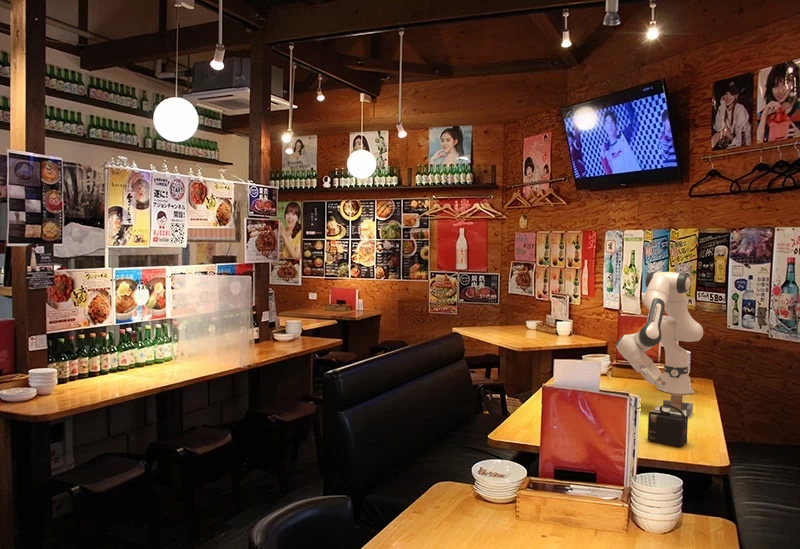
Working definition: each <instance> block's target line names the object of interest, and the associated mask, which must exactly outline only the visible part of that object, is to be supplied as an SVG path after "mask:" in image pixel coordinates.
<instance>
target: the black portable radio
mask: <svg viewBox="0 0 800 549" xmlns="http://www.w3.org/2000/svg"><path fill="white" fill-rule="evenodd" d="M659 406H660V410H655V408H654V409H653V410H651V411H649V412H648V418H647V420H648V421H647V441H648V442H652V443H658V444H662V445H668V446H673V447H678V448H682V447H683V446H684V445H686V444H687V443H688V424H689V423H688V421H689V419H688V416H685V415H684V413H683V412H682V411H681V410H679V409H678V408H676V407H674V406H672V405H667V404H664V405H663V404H661V405H659ZM663 406H668V407H671V408H674V409H675V410H677V411H678V412H679V413H680V414H681V415H679V414H673V413H670V412H665V411H663V410H662V407H663Z"/></svg>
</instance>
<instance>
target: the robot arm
mask: <svg viewBox="0 0 800 549" xmlns="http://www.w3.org/2000/svg"><path fill="white" fill-rule="evenodd" d="M644 281H645V283H644V284H645V287H646V291H645V294H644V299H643V305H644V307H645V308H646V309H647V310H648V314H647V315H648V316H647V320H646V323H645V324H644V326H642V328H640V330H639V331H637V332H635V333H630V334H622V335H621V336H620V338H619V339H618V340H617V341H616V343H615V347H616V349H617V351H618V353H620V355H621V356H622V357H623V358H624V359H625V360H627V361H628V362H629V364H630V366H631V367H632V368H633V369H634V370H635V371H636V372H637V373H640V375H641V376H642V378H644V380H646V382H647V383H649V385H654V386H656V390H659V391H662V392H664V393H667V394H668V393H669V394H672V393H679V394H683V395H688V394H691V395H692V394H693V395H694V394H695V391H694V388H693V387H692V384H691V377H690V375H689V374H688V373H689V367H688V360H689V359H688V357H689V356H688V352H687V351H686V349H685V348H683V347H681V346H680V345H679V344H678V341H679V342H688V343H689V342H690V343H692V342H694V343H695V342H699V341H700V340H701V339H702V338H703V336H704V329H703V326H702V325H701V324H700V323H699V322H697V321H696V320H695V319H694V318H693V317H692V315H691V313H690V312H689V309H688V302H687V292H688V291H689V290H690V287H691V278H690V276H689V275H688V274H687V273H684V272H683V273H682V272H674V271H651V272H649V273H648V274H647V275H646V277H645V280H644ZM664 312H665V313H666V315H667V316H669V317H671V318H672V319H663V316H664ZM659 343H661V345H662V346H663V348H664V357H665V358H664V359H665V360H664V361H665V364H664V367H663V371H664V372H663V373H662V371H661V370H660V369H659V367H658V366H657V365H656V364H655V363H654V360H653V359H652V358H651V357H650V356H648V355H647V353H646V352H648V351H650V350H651V349H652V348H653V347H655V346H656V345H658V344H659Z"/></svg>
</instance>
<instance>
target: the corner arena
mask: <svg viewBox="0 0 800 549" xmlns="http://www.w3.org/2000/svg"><path fill="white" fill-rule="evenodd" d="M664 404H667V405H671V399H670V400H669V399H663V401H662V405H664ZM660 406H661V405H657V406H655V408H654V409H655V410H660ZM693 407H694V403H692V402H685V401H682V412H683V413H684V415H685V416H688V420H689V419H691V417H692V414H693V410H694V408H693ZM662 410H663V411H665V412H670V413H673V414H679V415H681V414H680V413H679V412H672V411H670V410H671V407H668V406H662Z"/></svg>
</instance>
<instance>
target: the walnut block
mask: <svg viewBox="0 0 800 549" xmlns="http://www.w3.org/2000/svg"><path fill="white" fill-rule="evenodd" d="M683 395H684V394H679V393H670V401H671V405H672V406H674V407H676V408H678V409H679V410H681V411H682V402H683V397H684V396H683ZM670 411H672V412H678V411H677V410H675V409H674V408H671V410H670Z"/></svg>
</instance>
